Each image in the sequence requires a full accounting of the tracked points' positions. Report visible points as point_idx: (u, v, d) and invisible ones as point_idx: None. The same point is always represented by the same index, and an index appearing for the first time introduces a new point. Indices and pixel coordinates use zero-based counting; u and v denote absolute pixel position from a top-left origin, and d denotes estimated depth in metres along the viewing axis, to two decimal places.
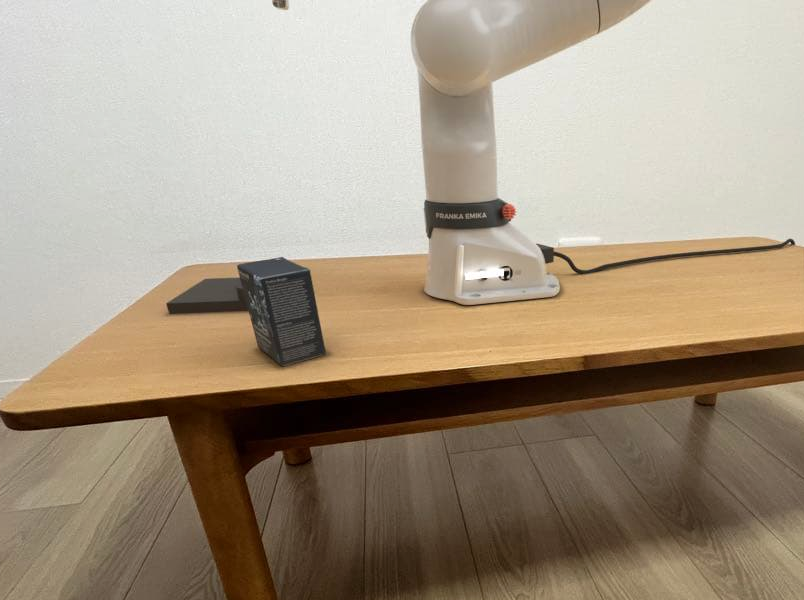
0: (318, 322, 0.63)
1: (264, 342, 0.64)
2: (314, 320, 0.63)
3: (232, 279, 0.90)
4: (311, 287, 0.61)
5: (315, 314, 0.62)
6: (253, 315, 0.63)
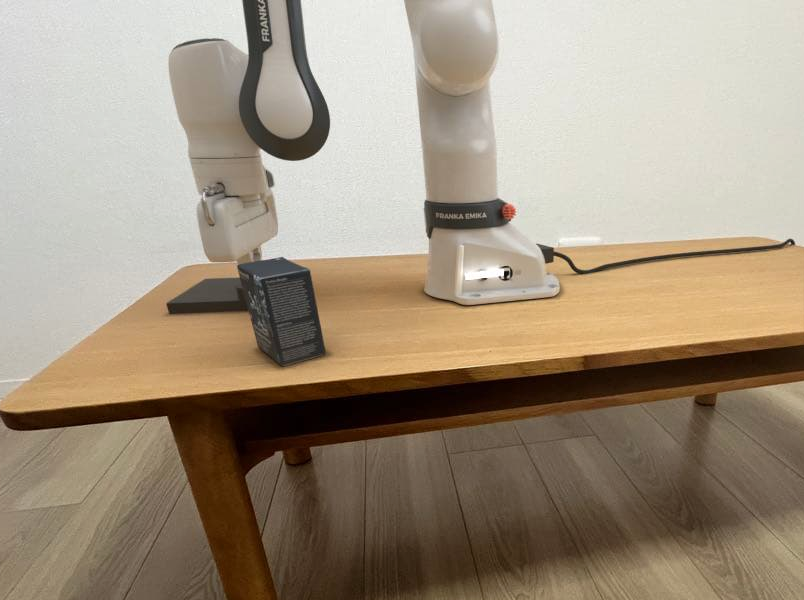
0: (318, 322, 0.63)
1: (264, 342, 0.64)
2: (314, 320, 0.63)
3: (232, 279, 0.90)
4: (311, 287, 0.61)
5: (315, 314, 0.62)
6: (253, 315, 0.63)
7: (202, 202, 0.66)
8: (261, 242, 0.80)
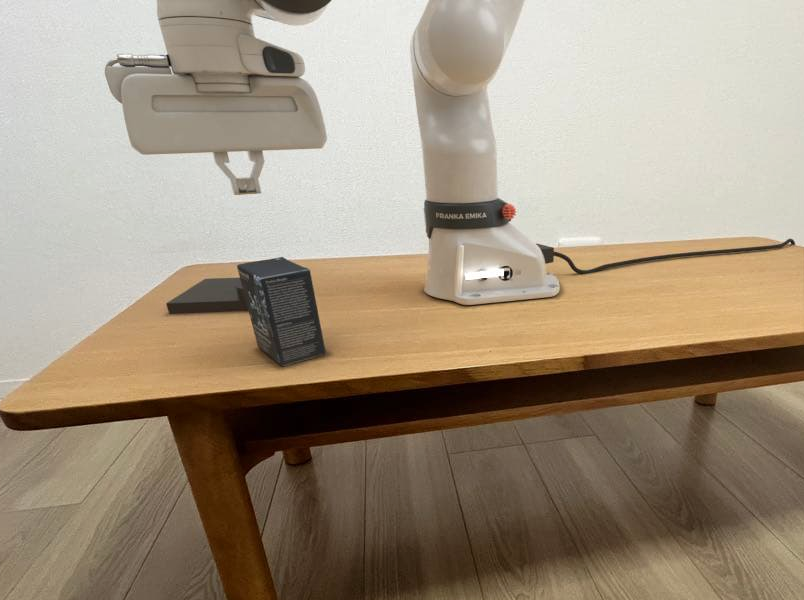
0: (318, 322, 0.63)
1: (264, 342, 0.64)
2: (314, 320, 0.63)
3: (232, 279, 0.90)
4: (311, 287, 0.61)
5: (315, 314, 0.62)
6: (253, 315, 0.63)
7: (105, 72, 0.54)
8: (248, 146, 0.61)
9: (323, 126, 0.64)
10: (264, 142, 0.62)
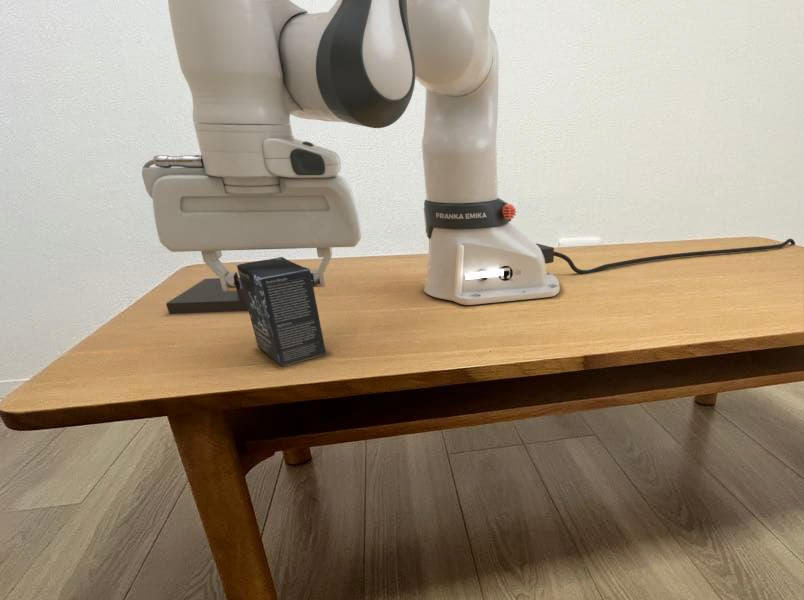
0: (318, 322, 0.63)
1: (264, 342, 0.64)
2: (314, 320, 0.63)
3: None
4: (311, 287, 0.61)
5: (316, 314, 0.62)
6: (253, 315, 0.63)
7: None
8: (275, 245, 0.58)
9: (356, 225, 0.59)
10: (292, 241, 0.58)
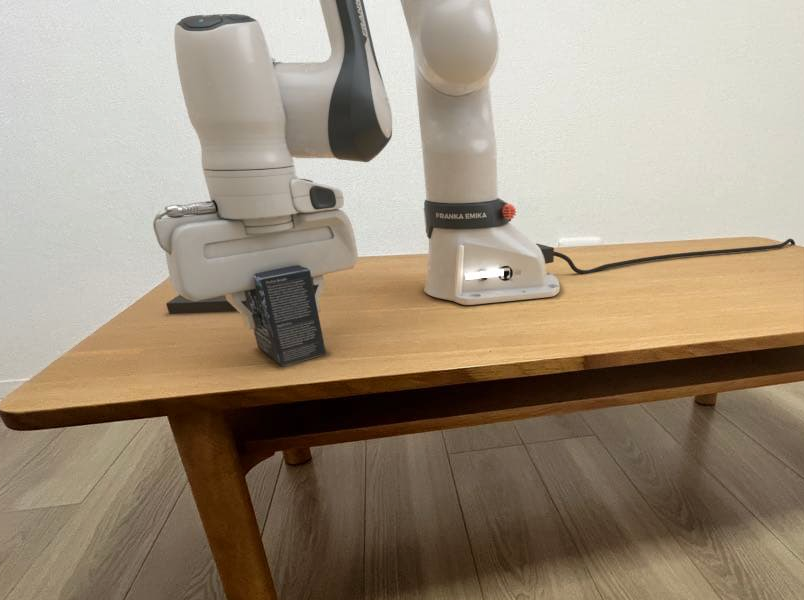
0: (318, 322, 0.63)
1: (264, 342, 0.64)
2: (314, 321, 0.63)
3: None
4: (311, 287, 0.61)
5: (315, 314, 0.62)
6: None
7: (153, 225, 0.52)
8: None
9: (356, 249, 0.66)
10: None
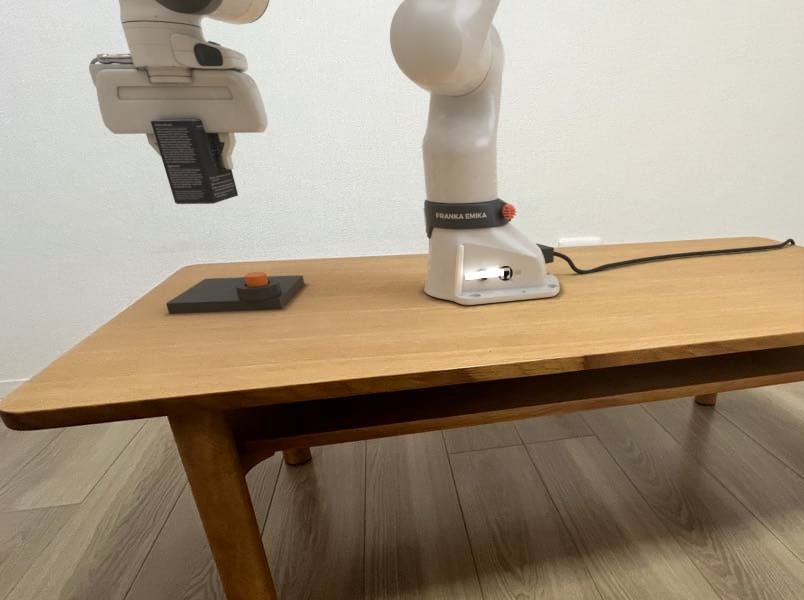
0: (204, 171, 0.73)
1: None
2: (200, 169, 0.73)
3: (232, 279, 0.90)
4: (194, 137, 0.71)
5: (201, 163, 0.72)
6: None
7: None
8: None
9: (255, 112, 0.72)
10: (205, 126, 0.73)
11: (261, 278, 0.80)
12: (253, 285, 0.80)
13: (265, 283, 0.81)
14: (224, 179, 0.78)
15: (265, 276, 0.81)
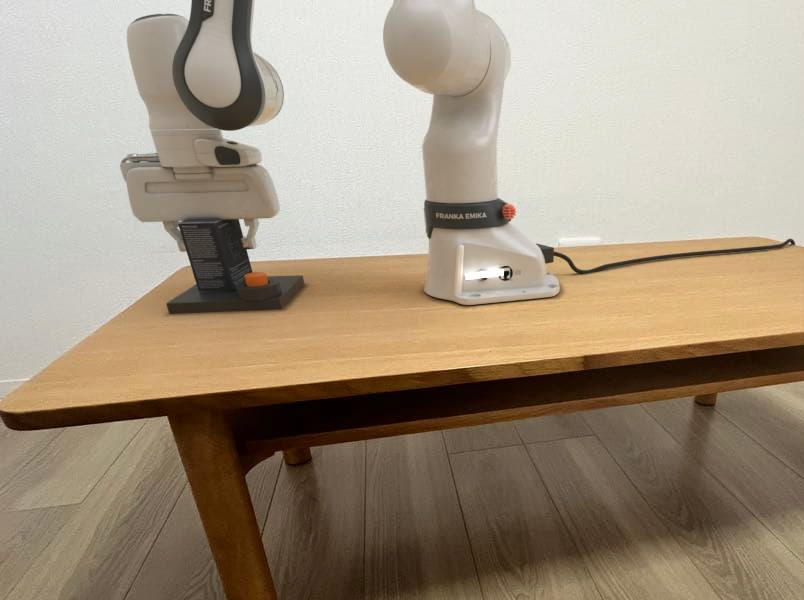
0: (224, 264, 0.82)
1: None
2: (221, 262, 0.81)
3: None
4: (216, 236, 0.80)
5: (222, 258, 0.81)
6: None
7: None
8: (212, 217, 0.80)
9: (269, 202, 0.80)
10: (224, 214, 0.80)
11: (261, 278, 0.80)
12: (253, 285, 0.80)
13: (265, 283, 0.81)
14: (242, 267, 0.86)
15: (265, 276, 0.81)
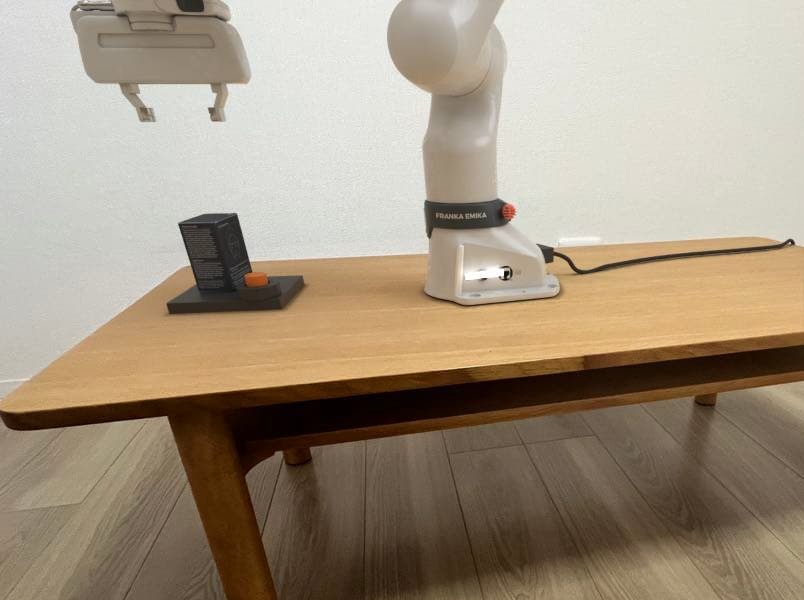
0: (224, 264, 0.82)
1: None
2: (221, 262, 0.81)
3: None
4: (216, 236, 0.80)
5: (222, 258, 0.81)
6: None
7: None
8: (175, 78, 0.72)
9: (238, 62, 0.72)
10: (188, 75, 0.72)
11: (261, 278, 0.80)
12: (253, 285, 0.80)
13: (265, 283, 0.81)
14: (242, 267, 0.86)
15: (265, 276, 0.81)
